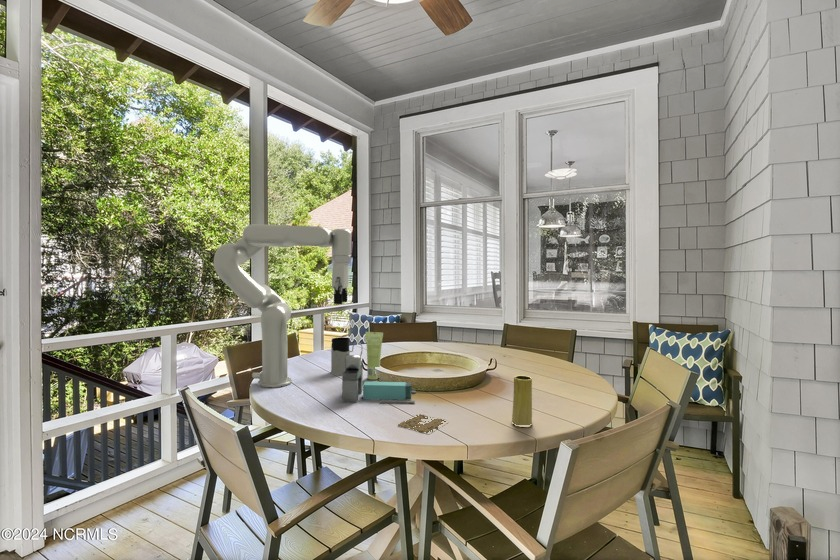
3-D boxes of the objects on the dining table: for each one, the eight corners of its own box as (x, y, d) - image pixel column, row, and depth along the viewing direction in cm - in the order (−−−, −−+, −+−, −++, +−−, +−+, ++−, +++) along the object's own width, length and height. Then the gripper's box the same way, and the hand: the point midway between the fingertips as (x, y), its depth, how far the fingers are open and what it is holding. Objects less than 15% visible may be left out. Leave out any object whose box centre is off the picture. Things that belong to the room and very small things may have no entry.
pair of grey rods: (379, 403, 149) (379, 401, 149) (383, 391, 162) (383, 390, 162) (414, 403, 149) (414, 402, 149) (415, 392, 162) (415, 390, 162)
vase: (509, 420, 134) (510, 375, 133) (528, 420, 134) (529, 374, 134) (515, 428, 127) (516, 380, 127) (535, 427, 128) (536, 380, 127)
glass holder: (334, 370, 194) (334, 336, 194) (364, 371, 192) (365, 337, 192) (327, 375, 186) (327, 340, 185) (359, 376, 184) (359, 341, 183)
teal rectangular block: (363, 399, 154) (363, 385, 153) (364, 395, 158) (365, 381, 158) (410, 399, 153) (411, 385, 153) (411, 395, 158) (411, 382, 157)
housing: (342, 402, 149) (342, 359, 149) (349, 391, 162) (349, 351, 162) (356, 402, 149) (356, 359, 149) (362, 391, 162) (362, 351, 162)
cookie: (416, 415, 139) (416, 412, 139) (450, 423, 132) (450, 420, 132) (394, 426, 129) (394, 423, 129) (429, 436, 122) (429, 432, 122)
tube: (376, 376, 185) (376, 330, 184) (383, 378, 181) (383, 332, 180) (364, 378, 181) (365, 331, 180) (371, 380, 177) (371, 333, 176)
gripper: (336, 260, 182) (336, 300, 182) (326, 259, 164) (326, 304, 165) (354, 260, 181) (353, 301, 182) (346, 260, 164) (345, 305, 165)
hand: (340, 302), depth 173 cm, fingers open, 9 cm apart
